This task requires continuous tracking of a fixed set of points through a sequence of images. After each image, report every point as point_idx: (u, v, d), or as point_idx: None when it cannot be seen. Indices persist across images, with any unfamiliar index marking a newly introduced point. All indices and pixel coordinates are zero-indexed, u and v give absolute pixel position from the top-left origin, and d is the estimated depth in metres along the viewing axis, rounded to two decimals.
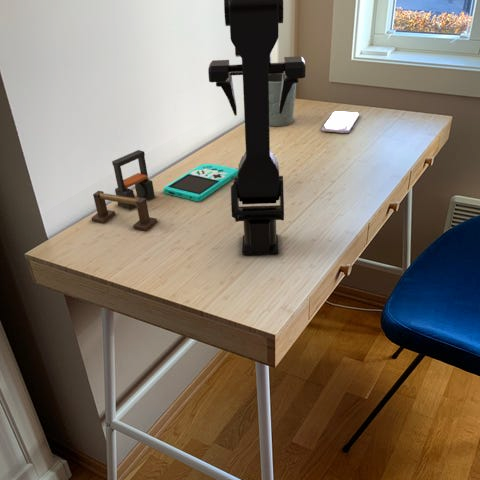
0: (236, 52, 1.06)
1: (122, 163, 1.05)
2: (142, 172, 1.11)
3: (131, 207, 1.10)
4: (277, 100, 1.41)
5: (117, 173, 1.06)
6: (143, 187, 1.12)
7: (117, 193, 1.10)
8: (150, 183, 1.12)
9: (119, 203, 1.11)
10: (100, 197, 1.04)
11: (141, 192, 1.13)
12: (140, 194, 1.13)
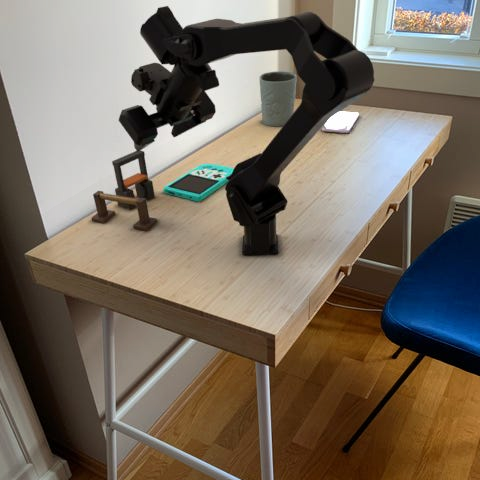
0: (142, 90, 0.91)
1: (122, 163, 1.05)
2: (142, 172, 1.11)
3: (131, 207, 1.10)
4: (277, 100, 1.41)
5: (117, 173, 1.06)
6: (143, 187, 1.12)
7: (117, 193, 1.10)
8: (150, 183, 1.12)
9: (119, 203, 1.11)
10: (100, 197, 1.04)
11: (141, 192, 1.13)
12: (140, 194, 1.13)
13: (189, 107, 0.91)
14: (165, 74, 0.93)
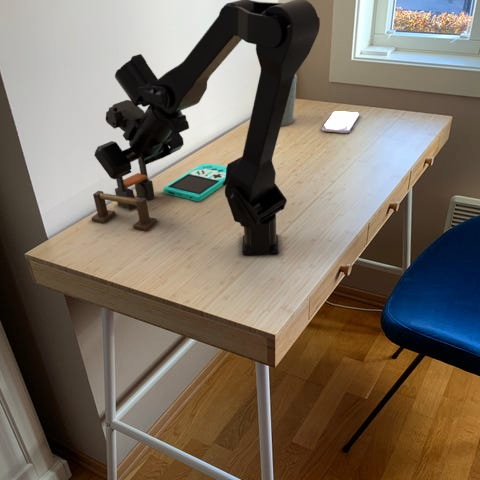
0: (116, 127, 0.98)
1: None
2: (142, 172, 1.11)
3: (131, 207, 1.10)
4: None
5: None
6: (143, 187, 1.12)
7: (117, 193, 1.10)
8: (150, 183, 1.12)
9: (119, 203, 1.11)
10: (100, 197, 1.04)
11: (141, 192, 1.13)
12: (140, 194, 1.13)
13: (160, 144, 0.99)
14: (137, 112, 1.00)
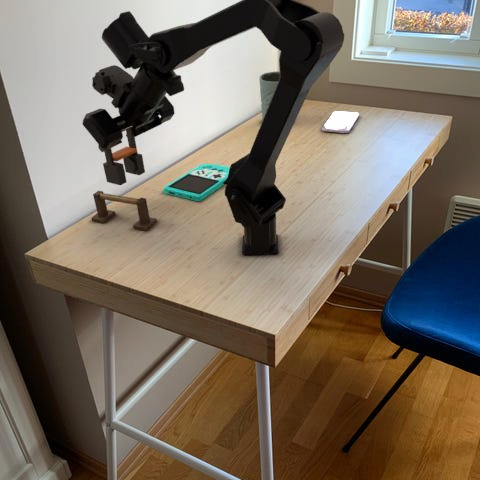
0: (104, 93, 0.92)
1: None
2: (131, 145, 1.05)
3: (121, 182, 1.03)
4: None
5: None
6: (133, 161, 1.05)
7: (106, 168, 1.03)
8: (140, 157, 1.05)
9: (108, 179, 1.04)
10: (100, 197, 1.04)
11: (130, 167, 1.06)
12: (129, 169, 1.07)
13: (152, 110, 0.93)
14: (126, 77, 0.94)
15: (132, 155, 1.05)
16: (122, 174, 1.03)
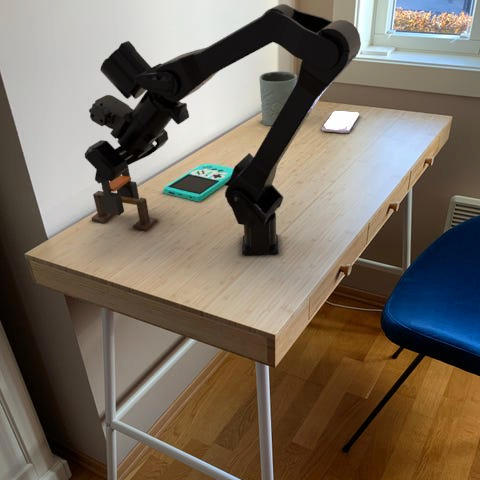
0: (104, 124, 0.89)
1: None
2: (124, 174, 1.03)
3: (120, 212, 1.01)
4: (277, 100, 1.41)
5: None
6: (128, 190, 1.03)
7: (102, 199, 1.00)
8: (134, 185, 1.03)
9: (105, 210, 1.01)
10: None
11: (125, 195, 1.04)
12: None
13: (155, 139, 0.91)
14: (122, 106, 0.92)
15: (126, 183, 1.03)
16: (120, 204, 1.00)
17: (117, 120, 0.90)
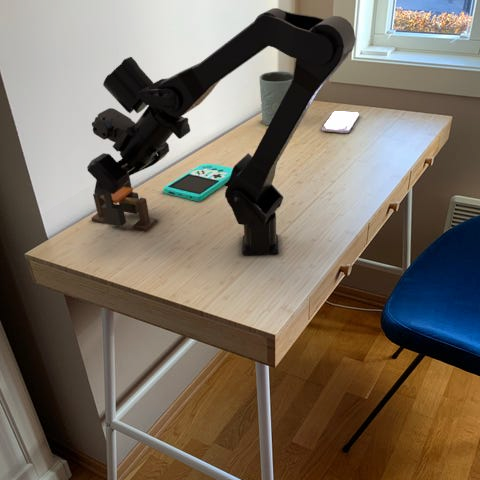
0: (106, 138, 0.91)
1: None
2: (126, 185, 1.04)
3: (122, 223, 1.02)
4: (277, 100, 1.41)
5: None
6: None
7: (104, 211, 1.02)
8: (136, 195, 1.05)
9: (107, 221, 1.03)
10: (100, 197, 1.04)
11: (127, 206, 1.05)
12: (126, 208, 1.06)
13: (156, 152, 0.93)
14: (125, 120, 0.93)
15: (128, 194, 1.04)
16: (122, 215, 1.02)
17: (119, 133, 0.91)
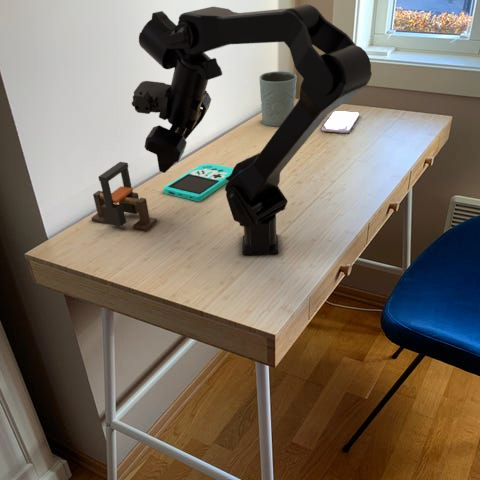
0: (150, 111, 0.89)
1: (110, 177, 0.98)
2: (126, 185, 1.04)
3: (122, 223, 1.02)
4: (277, 100, 1.41)
5: (105, 189, 0.98)
6: None
7: (104, 211, 1.02)
8: (136, 196, 1.05)
9: (107, 221, 1.03)
10: (100, 197, 1.04)
11: (127, 206, 1.05)
12: (126, 209, 1.06)
13: (201, 103, 0.90)
14: (159, 86, 0.91)
15: (128, 195, 1.04)
16: (122, 215, 1.02)
17: (160, 101, 0.89)
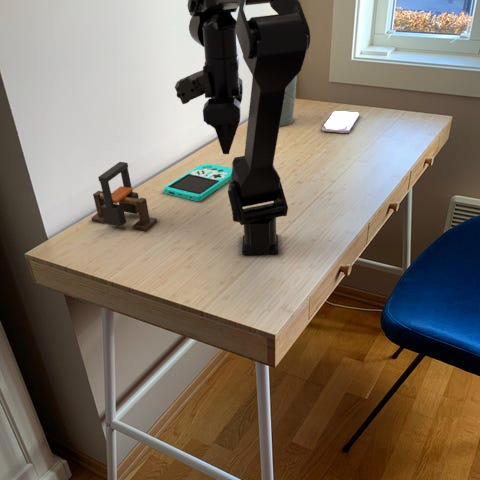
0: (196, 92, 0.91)
1: (110, 178, 0.97)
2: (126, 185, 1.04)
3: (122, 223, 1.02)
4: None
5: (105, 189, 0.98)
6: None
7: (104, 211, 1.02)
8: (136, 195, 1.05)
9: (107, 221, 1.03)
10: (100, 197, 1.04)
11: (127, 206, 1.05)
12: (126, 208, 1.06)
13: (238, 66, 0.92)
14: (195, 74, 0.94)
15: (128, 194, 1.04)
16: (122, 215, 1.02)
17: (201, 80, 0.91)
